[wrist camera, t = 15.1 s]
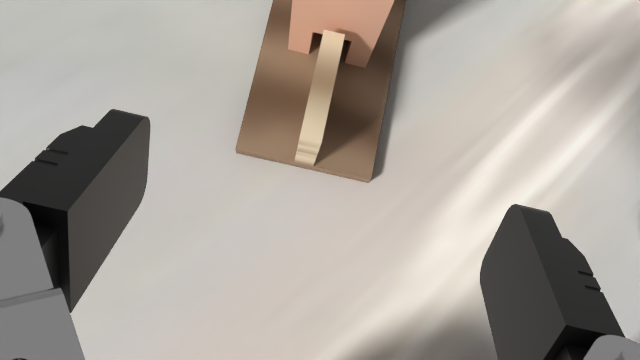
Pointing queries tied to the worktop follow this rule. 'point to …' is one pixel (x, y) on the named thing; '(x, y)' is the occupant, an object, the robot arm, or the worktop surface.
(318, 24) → the slotted upright
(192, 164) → the worktop surface
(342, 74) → the ridged rail
